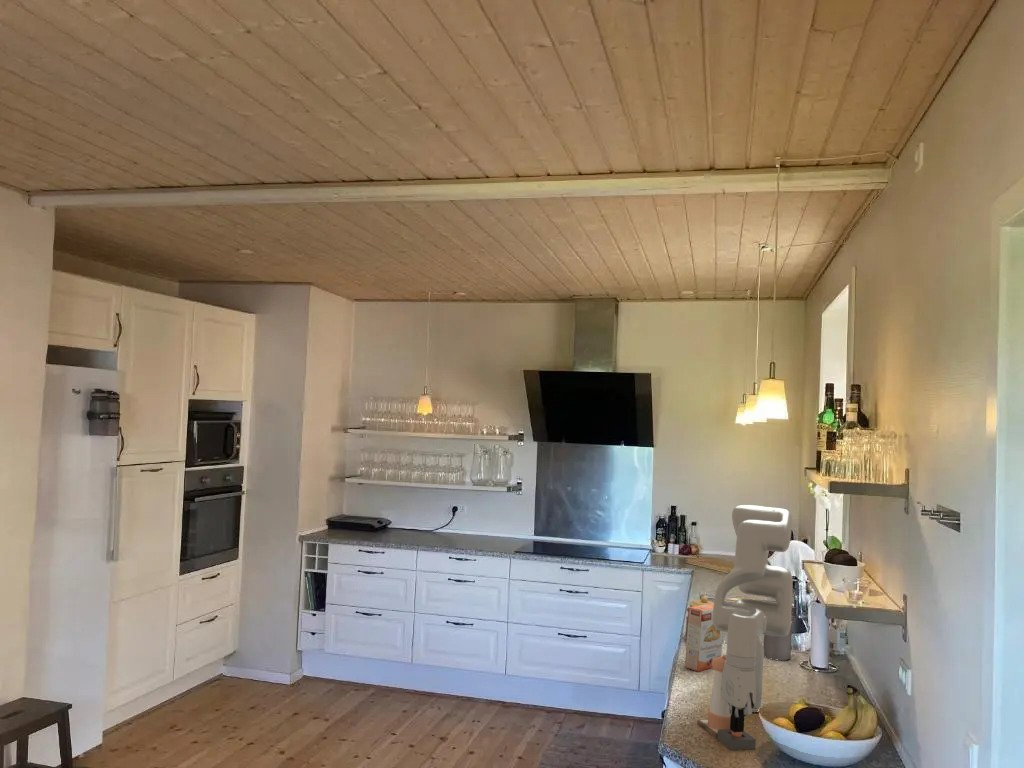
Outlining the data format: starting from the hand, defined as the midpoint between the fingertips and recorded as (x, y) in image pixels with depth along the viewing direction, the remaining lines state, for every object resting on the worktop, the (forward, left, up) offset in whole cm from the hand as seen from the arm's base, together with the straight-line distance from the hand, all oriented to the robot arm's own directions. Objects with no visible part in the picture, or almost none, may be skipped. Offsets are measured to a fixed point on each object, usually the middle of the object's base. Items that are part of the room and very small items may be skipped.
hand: (736, 730), depth 203 cm
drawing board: (-9, +1, -4) cm, 10 cm away
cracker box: (-60, +25, -4) cm, 65 cm away
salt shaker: (-9, +1, -3) cm, 10 cm away
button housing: (0, 0, -4) cm, 4 cm away
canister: (-88, +41, -4) cm, 97 cm away
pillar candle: (-68, +61, -4) cm, 92 cm away
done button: (0, 0, -2) cm, 2 cm away
